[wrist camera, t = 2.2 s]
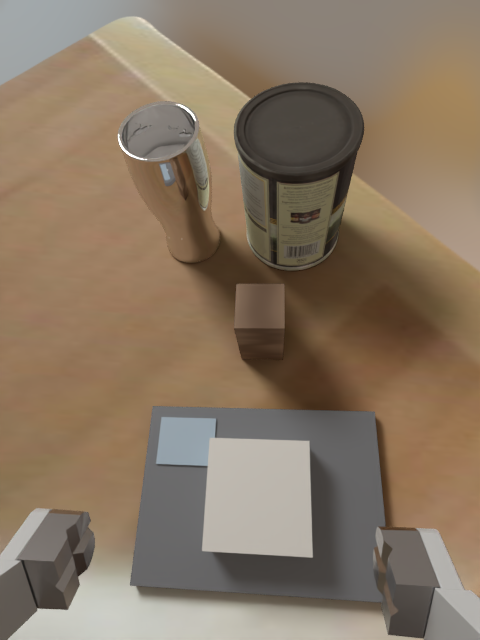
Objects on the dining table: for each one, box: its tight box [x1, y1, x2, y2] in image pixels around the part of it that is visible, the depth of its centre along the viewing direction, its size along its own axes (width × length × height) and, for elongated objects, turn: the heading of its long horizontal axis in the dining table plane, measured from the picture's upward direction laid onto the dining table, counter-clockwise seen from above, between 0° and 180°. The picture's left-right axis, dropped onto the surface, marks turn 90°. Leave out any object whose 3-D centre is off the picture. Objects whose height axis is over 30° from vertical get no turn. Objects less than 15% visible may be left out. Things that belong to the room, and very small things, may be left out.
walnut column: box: [234, 284, 285, 360], centre depth 36 cm, size 4×4×8 cm
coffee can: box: [234, 83, 364, 271], centre depth 38 cm, size 10×10×14 cm
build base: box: [130, 406, 386, 602], centre depth 32 cm, size 20×14×4 cm
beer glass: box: [118, 101, 220, 263], centre depth 38 cm, size 7×7×15 cm
